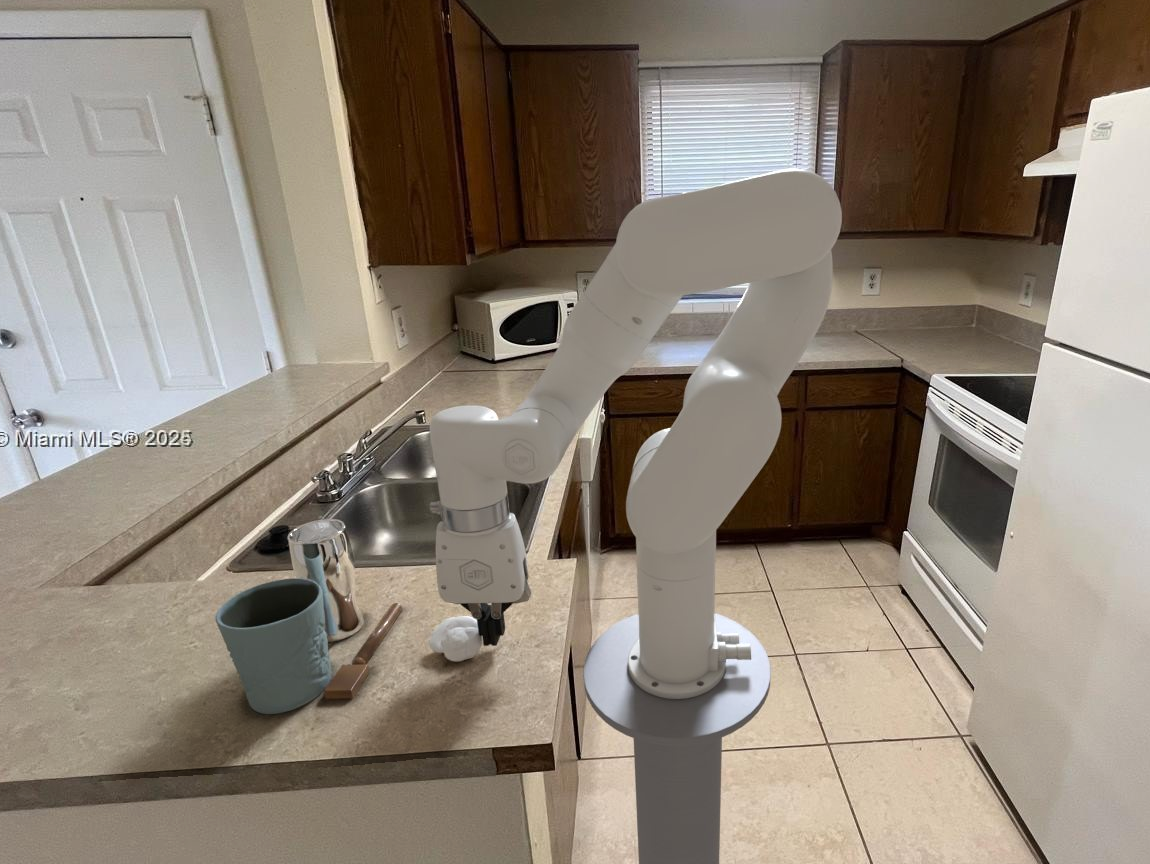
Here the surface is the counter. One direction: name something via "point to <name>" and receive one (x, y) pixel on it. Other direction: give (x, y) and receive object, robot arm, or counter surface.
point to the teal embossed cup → (278, 643)
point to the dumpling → (457, 638)
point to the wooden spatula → (360, 660)
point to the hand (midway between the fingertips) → (493, 638)
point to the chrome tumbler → (329, 572)
